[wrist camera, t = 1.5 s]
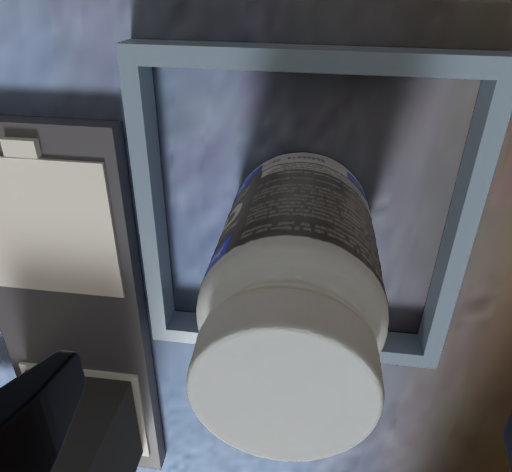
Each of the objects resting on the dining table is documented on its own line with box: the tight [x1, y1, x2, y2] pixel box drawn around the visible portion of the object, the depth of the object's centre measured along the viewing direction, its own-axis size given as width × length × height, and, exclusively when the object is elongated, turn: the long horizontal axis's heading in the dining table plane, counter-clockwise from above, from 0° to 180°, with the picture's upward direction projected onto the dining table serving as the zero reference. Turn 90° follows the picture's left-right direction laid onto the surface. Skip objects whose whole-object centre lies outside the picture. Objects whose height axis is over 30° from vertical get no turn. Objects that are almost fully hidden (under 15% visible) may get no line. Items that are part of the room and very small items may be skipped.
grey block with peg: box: [25, 370, 143, 472], centre depth 20 cm, size 9×5×6 cm, turn 89°
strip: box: [0, 115, 166, 470], centre depth 20 cm, size 6×18×1 cm, turn 179°
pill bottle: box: [187, 152, 389, 462], centre depth 13 cm, size 5×5×8 cm
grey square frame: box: [115, 39, 512, 369], centre depth 16 cm, size 11×11×1 cm
